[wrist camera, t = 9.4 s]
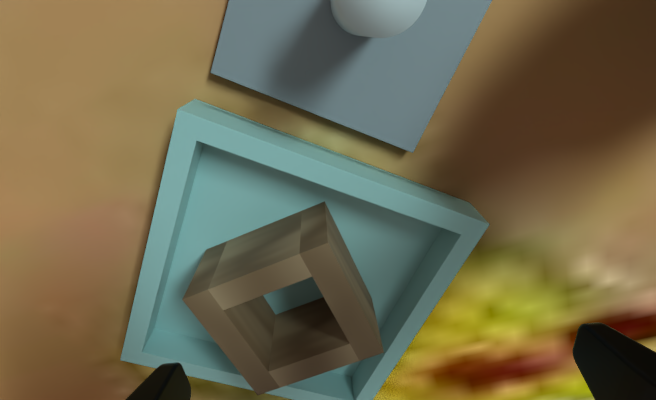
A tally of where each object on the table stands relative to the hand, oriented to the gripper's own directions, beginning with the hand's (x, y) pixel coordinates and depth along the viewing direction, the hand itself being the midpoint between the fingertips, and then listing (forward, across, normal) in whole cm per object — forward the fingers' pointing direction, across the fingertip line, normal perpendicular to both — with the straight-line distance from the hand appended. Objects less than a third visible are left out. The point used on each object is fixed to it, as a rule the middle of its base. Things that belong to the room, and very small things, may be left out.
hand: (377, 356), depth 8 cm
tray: (+11, +4, +6) cm, 13 cm away
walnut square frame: (+11, +4, +6) cm, 13 cm away
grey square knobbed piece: (+12, -1, -8) cm, 14 cm away
